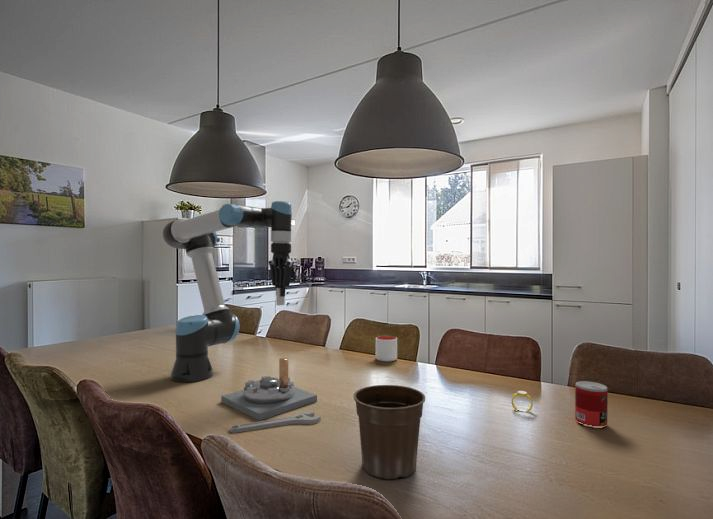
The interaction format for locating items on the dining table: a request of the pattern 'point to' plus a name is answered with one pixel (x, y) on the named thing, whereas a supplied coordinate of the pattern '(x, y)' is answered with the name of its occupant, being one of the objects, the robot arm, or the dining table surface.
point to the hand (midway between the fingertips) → (280, 305)
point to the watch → (522, 395)
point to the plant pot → (389, 429)
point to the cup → (386, 348)
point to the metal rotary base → (270, 387)
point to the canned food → (591, 403)
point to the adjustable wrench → (278, 422)
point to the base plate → (268, 410)
